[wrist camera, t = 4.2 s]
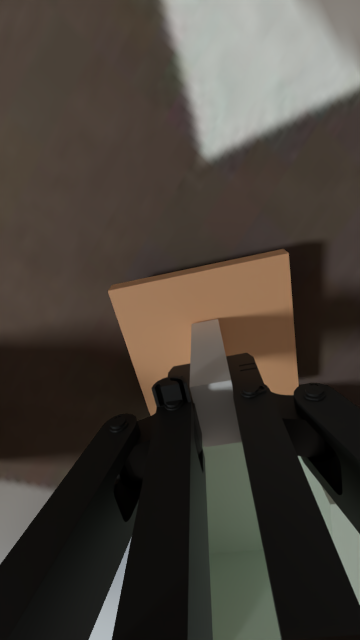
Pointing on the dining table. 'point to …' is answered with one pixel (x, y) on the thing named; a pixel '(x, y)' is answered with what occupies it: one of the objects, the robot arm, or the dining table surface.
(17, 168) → the dining table surface
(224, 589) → the crate
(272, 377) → the flat tan square board
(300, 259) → the dining table surface
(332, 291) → the dining table surface
